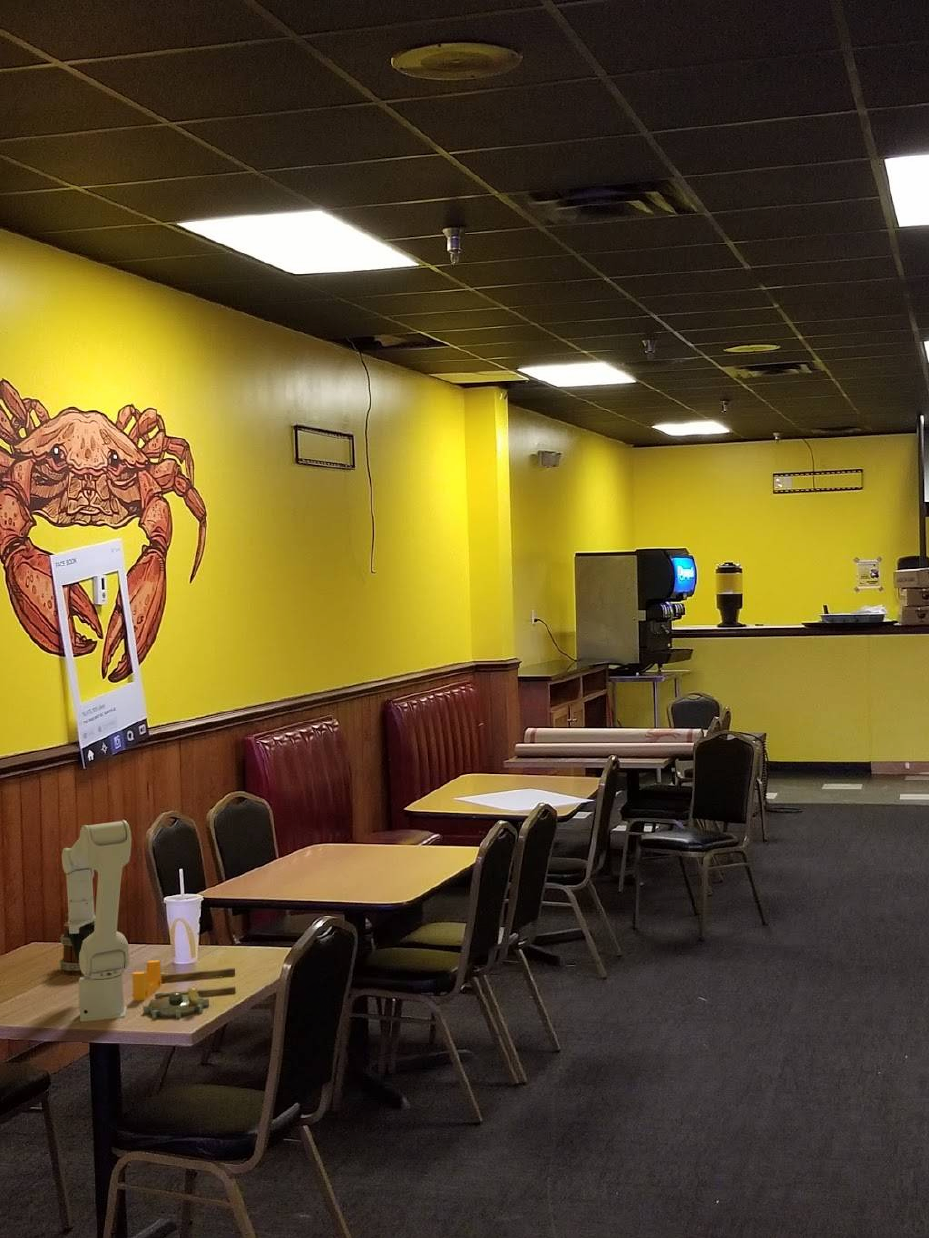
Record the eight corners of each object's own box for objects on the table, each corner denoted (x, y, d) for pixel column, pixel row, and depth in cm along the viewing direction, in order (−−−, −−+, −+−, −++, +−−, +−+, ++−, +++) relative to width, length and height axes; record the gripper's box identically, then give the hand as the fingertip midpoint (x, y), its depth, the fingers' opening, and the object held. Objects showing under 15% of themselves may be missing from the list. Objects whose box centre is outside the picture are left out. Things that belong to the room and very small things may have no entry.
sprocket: (129, 1015, 315) (128, 992, 315) (173, 997, 327) (172, 975, 327) (179, 1021, 308) (178, 998, 308) (222, 1003, 320) (221, 981, 320)
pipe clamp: (143, 987, 339) (142, 960, 339) (161, 987, 339) (160, 960, 338) (126, 1002, 327) (124, 974, 327) (144, 1002, 327) (143, 973, 327)
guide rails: (155, 1001, 326) (154, 993, 326) (159, 981, 344) (158, 973, 344) (235, 994, 329) (235, 985, 328) (235, 973, 346) (234, 965, 346)
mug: (71, 978, 350) (63, 916, 351) (50, 977, 361) (43, 917, 363) (116, 968, 357) (109, 907, 359) (94, 968, 368) (87, 909, 370)
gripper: (89, 904, 324) (93, 964, 325) (105, 891, 339) (109, 948, 339) (58, 906, 324) (62, 966, 325) (75, 892, 339) (79, 950, 339)
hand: (84, 957), depth 332 cm, fingers open, 3 cm apart
